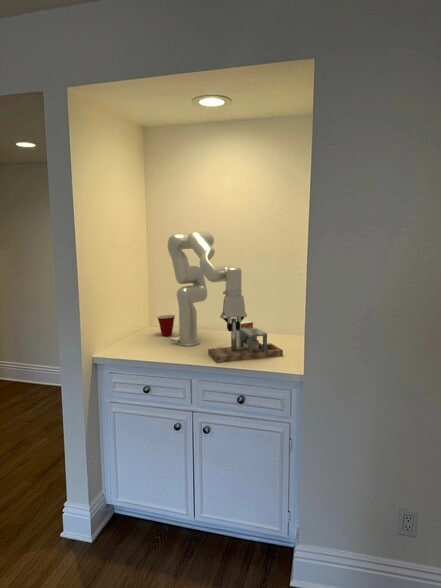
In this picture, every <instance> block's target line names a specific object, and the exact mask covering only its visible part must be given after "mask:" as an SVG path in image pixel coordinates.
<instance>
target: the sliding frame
mask: <svg viewBox="0 0 441 588" xmlns="http://www.w3.org/2000/svg"><path fill="white" fill-rule="evenodd" d="M236 322H237V317H231V321H230V323H231V332H230V347H231V351H236V350H246V349H247V350H248V344H247V342H243V347H236ZM262 344H263V343H260V342H259V349H261V350H263V345H262Z"/></svg>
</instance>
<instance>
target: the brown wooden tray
mask: <svg viewBox="0 0 441 588" xmlns="http://www.w3.org/2000/svg"><path fill="white" fill-rule="evenodd" d="M258 337H262V343H261V344H262V345H263V350H261V349H259V350H252V347H253V339H257V340H258ZM247 339H248V350H247V349H246V350H236V351H231V346H228V347H227V346H226V347H218V348H208V349H207V352H208V353H207V354H208V356H209V358H211V359H212V360H213V361H214V362H215V363H216V364H222V363H230V362H238V361H239V362H240V361H250V360H261V359H269V358H276V357H277V358H278V357H279V358H280V357H283V356H284V350H283V349H282V348H279V347H278V346H276V345H275V344H273V343H272V342H271V343H268V333H267V332H265V331H264V330H261V329H259V328H258V327H253V328H244V329H240V331H239V346H236V347H243V342H247Z"/></svg>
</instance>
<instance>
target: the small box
mask: <svg viewBox="0 0 441 588" xmlns="http://www.w3.org/2000/svg"><path fill="white" fill-rule="evenodd" d="M244 328H254V322H253V321H251V320H248V319H243V320H242V321H241V323H240V329H244ZM236 346H239V331H238V330H236Z"/></svg>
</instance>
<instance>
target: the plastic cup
mask: <svg viewBox="0 0 441 588" xmlns="http://www.w3.org/2000/svg"><path fill="white" fill-rule="evenodd" d="M175 317H176V315H175V314H163V315H158V316H157V317H156V318H157V320H158V324H159V329H160V332H161V336H162V337H173V336H172V335H173V329H174V322H175Z"/></svg>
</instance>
